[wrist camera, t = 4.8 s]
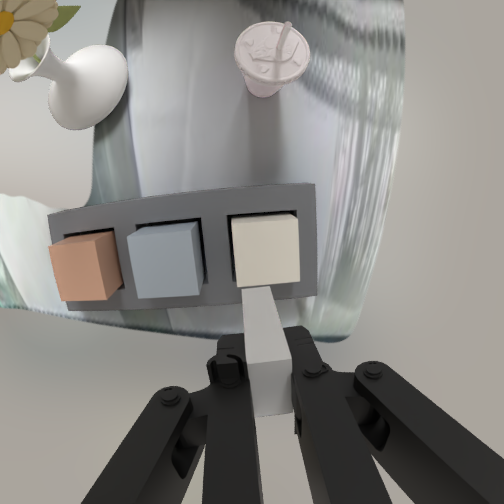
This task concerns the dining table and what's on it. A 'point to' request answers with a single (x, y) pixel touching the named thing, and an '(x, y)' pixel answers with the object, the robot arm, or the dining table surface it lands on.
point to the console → (214, 235)
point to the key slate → (167, 260)
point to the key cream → (266, 249)
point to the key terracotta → (86, 266)
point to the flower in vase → (60, 63)
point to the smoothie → (271, 56)
